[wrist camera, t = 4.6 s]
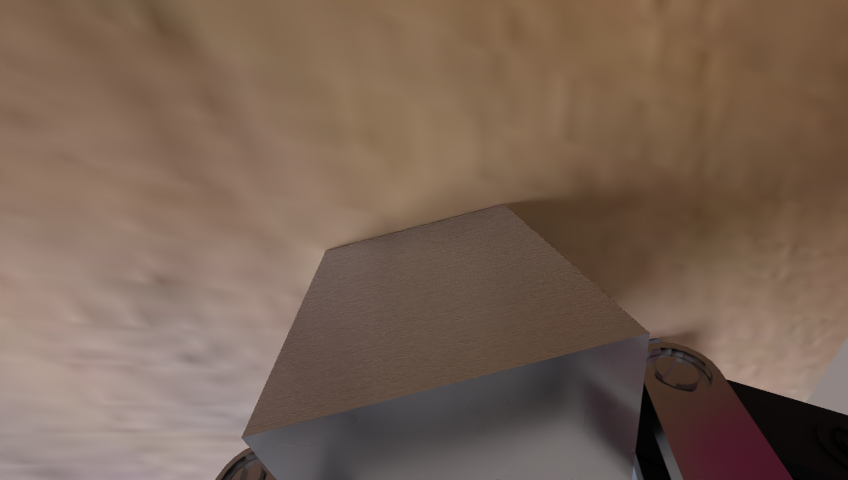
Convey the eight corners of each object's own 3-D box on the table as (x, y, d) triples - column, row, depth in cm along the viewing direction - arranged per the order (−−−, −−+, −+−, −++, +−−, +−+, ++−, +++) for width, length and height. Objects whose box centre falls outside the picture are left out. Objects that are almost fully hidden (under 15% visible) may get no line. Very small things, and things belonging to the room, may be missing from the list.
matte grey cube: (325, 250, 10) (241, 437, 4) (504, 204, 10) (650, 332, 4) (380, 376, 12) (370, 592, 7) (521, 339, 12) (625, 529, 7)
